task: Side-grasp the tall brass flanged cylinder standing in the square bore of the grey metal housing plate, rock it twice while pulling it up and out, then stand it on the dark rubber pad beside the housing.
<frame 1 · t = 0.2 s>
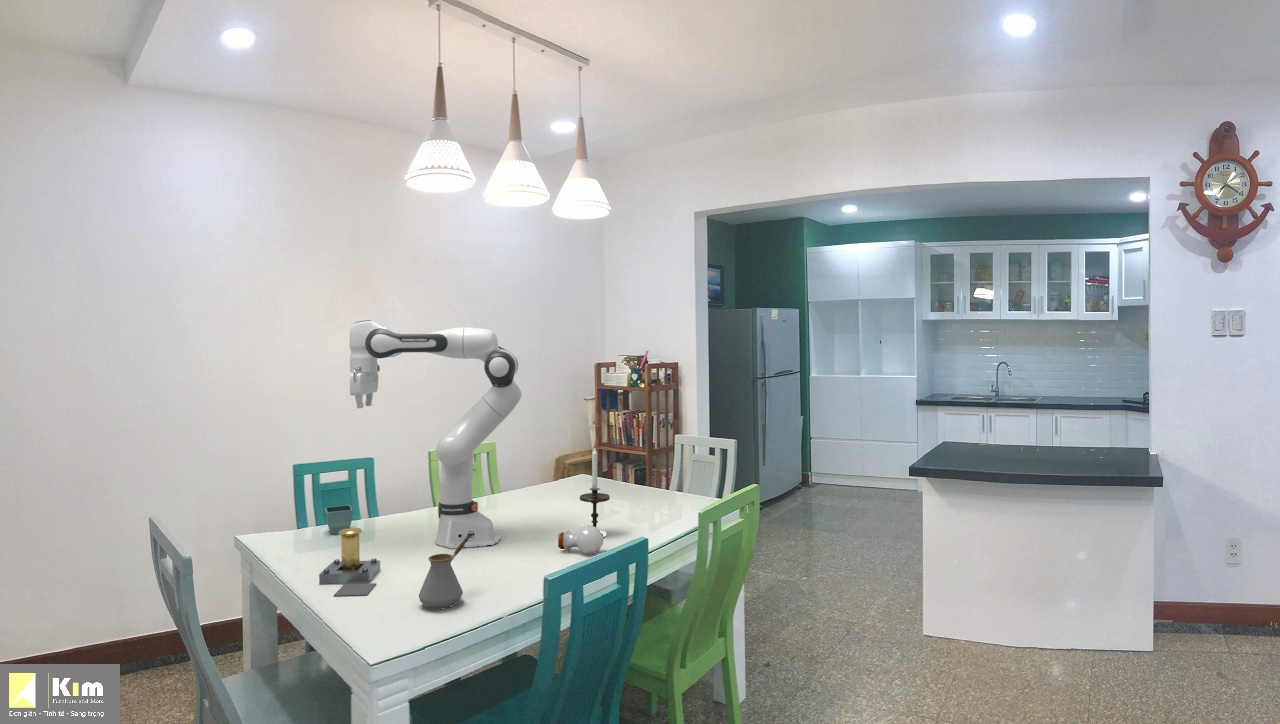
hand: (364, 407, 247), 48 cm above the table, tool pointing down, fingers open, 8 cm apart
pad: (355, 590, 202), on the table
flower pot: (338, 533, 263), on the table
candlestick: (594, 535, 260), on the table
potion bottle: (581, 553, 238), on the table
housing: (350, 576, 214), on the table
brass flanged cylinder: (350, 576, 214), resting in housing
coffee pot: (450, 598, 196), on the table
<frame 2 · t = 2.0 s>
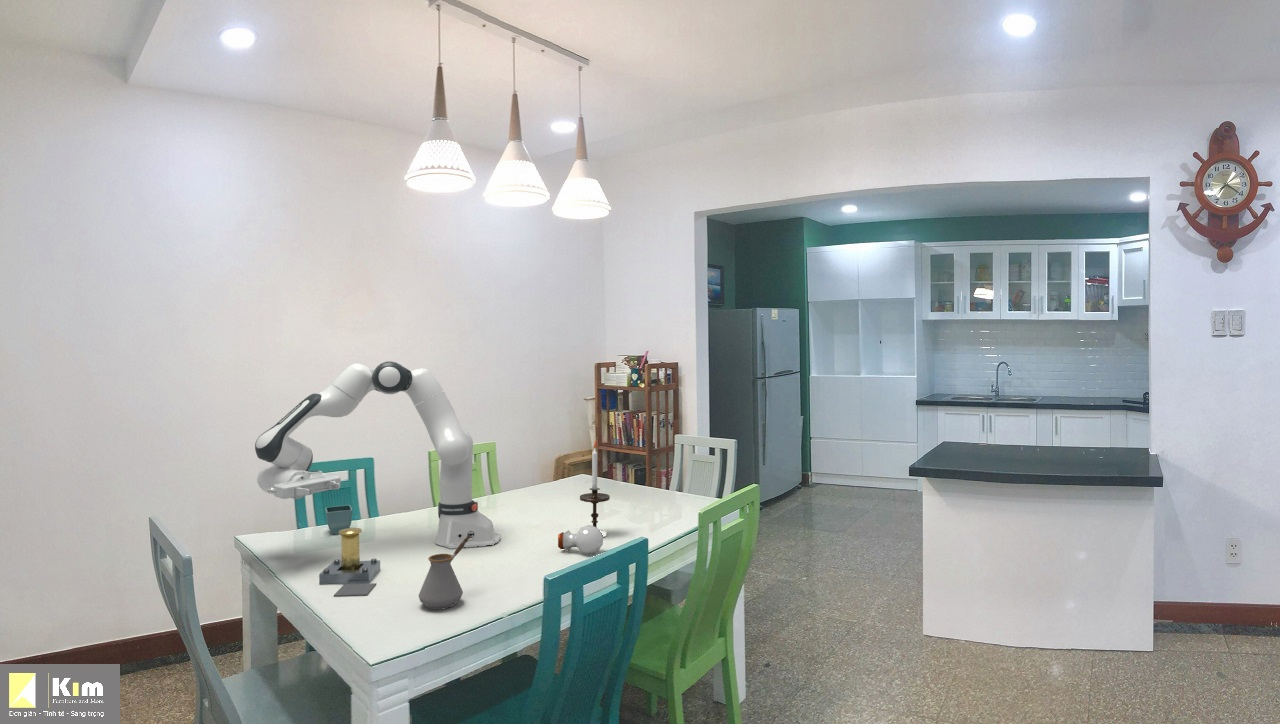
hand: (324, 489, 219), 25 cm above the table, tool horizontal, fingers open, 8 cm apart
nothing on the table moved.
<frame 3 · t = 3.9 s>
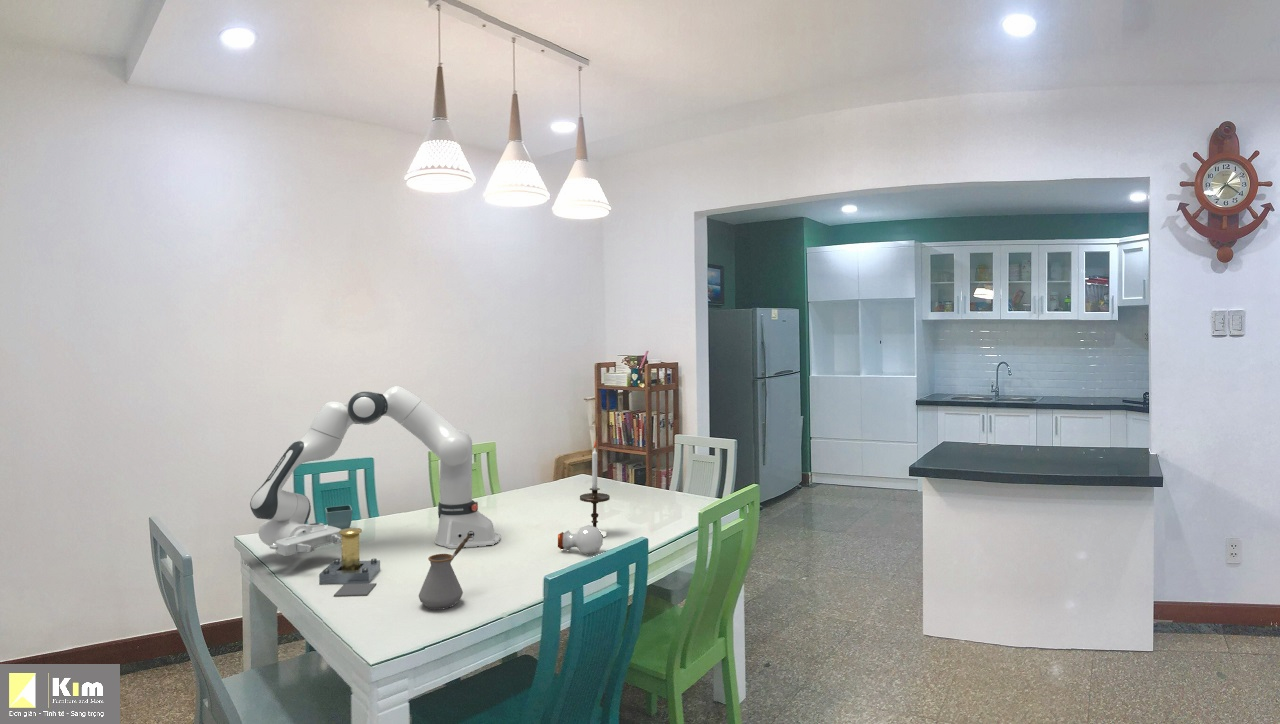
hand: (325, 544, 219), 8 cm above the table, tool horizontal, fingers open, 8 cm apart
nothing on the table moved.
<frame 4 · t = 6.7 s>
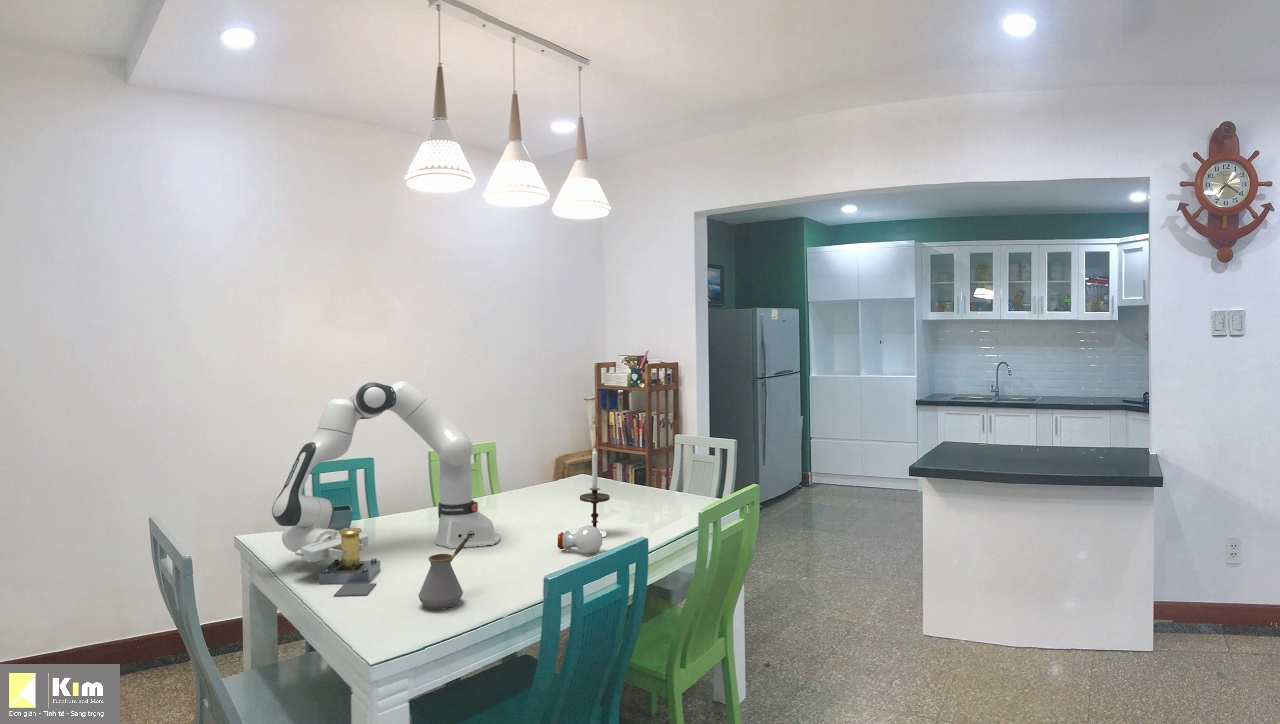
hand: (352, 550, 213), 8 cm above the table, tool horizontal, fingers closed on brass flanged cylinder, 5 cm apart
brass flanged cylinder: (350, 576, 214), resting in housing, touching gripper
everything else where it was.
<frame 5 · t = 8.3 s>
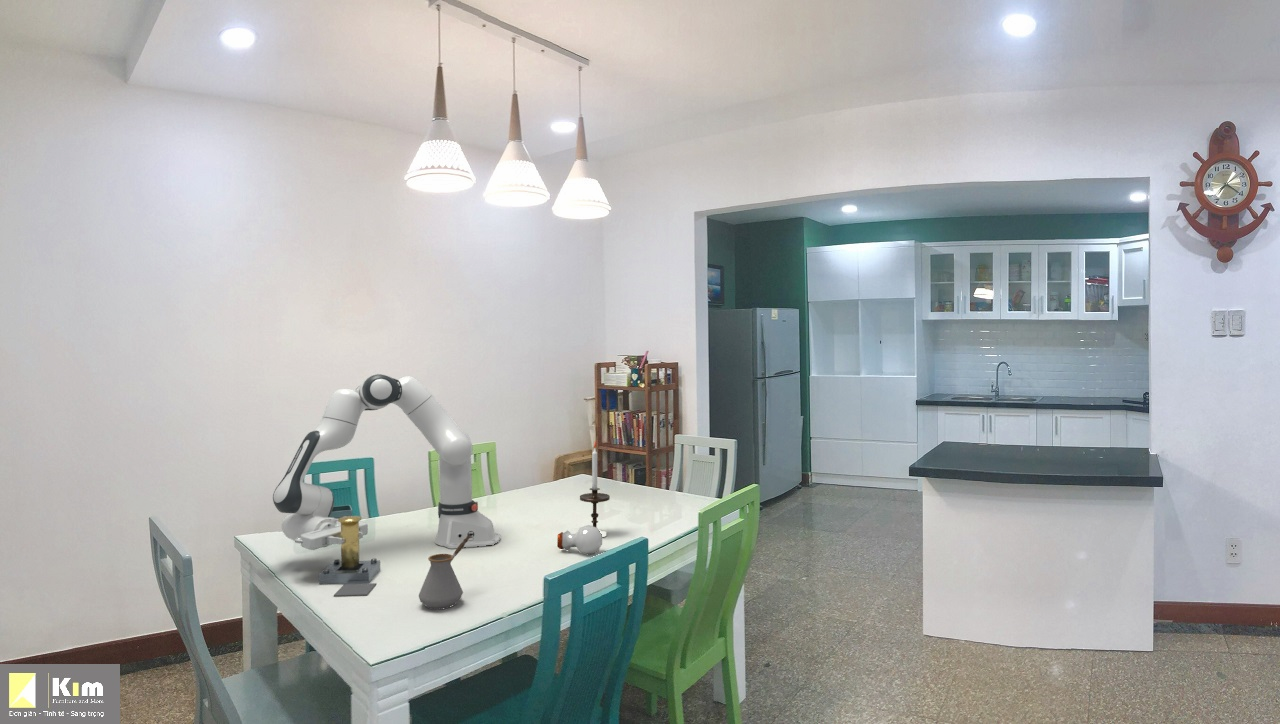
hand: (352, 538, 213), 12 cm above the table, tool horizontal, fingers closed on brass flanged cylinder, 5 cm apart
brass flanged cylinder: (350, 564, 214), point 4 cm above the table, touching gripper
everything else where it was.
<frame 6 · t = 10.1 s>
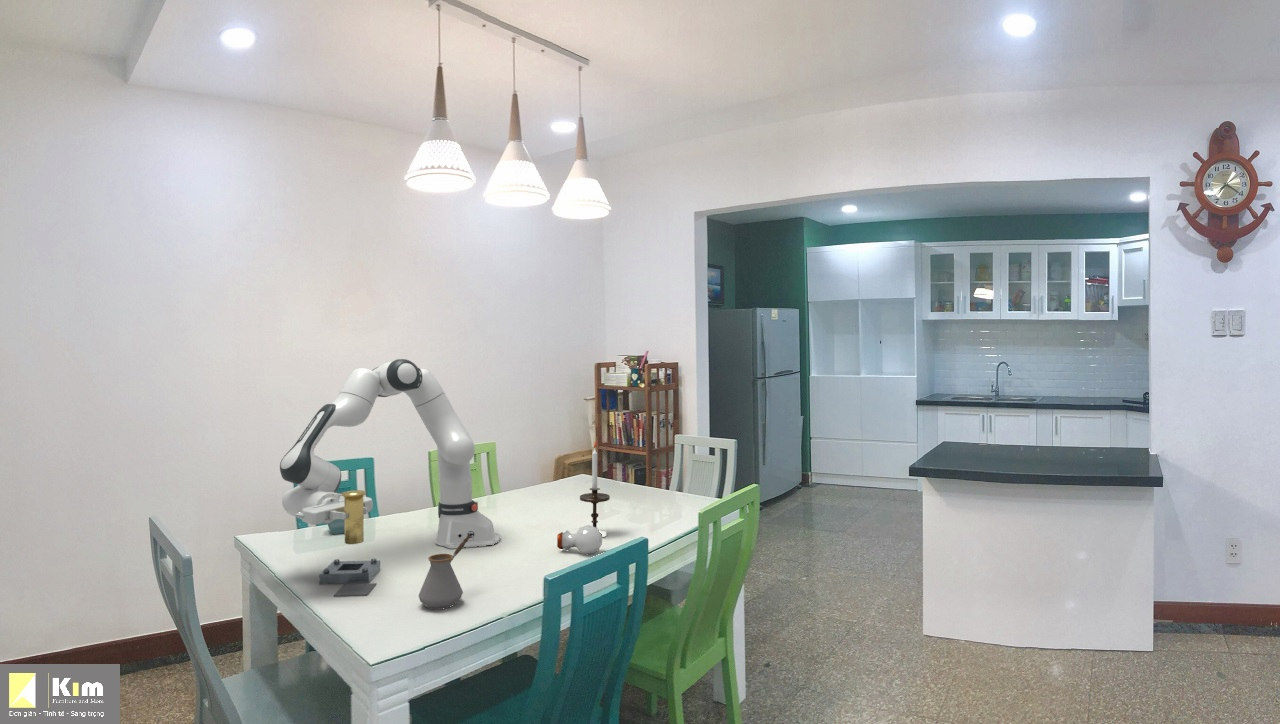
hand: (356, 513, 201), 22 cm above the table, tool horizontal, fingers closed on brass flanged cylinder, 5 cm apart
brass flanged cylinder: (354, 541, 202), point 14 cm above the table, touching gripper
everything else where it was.
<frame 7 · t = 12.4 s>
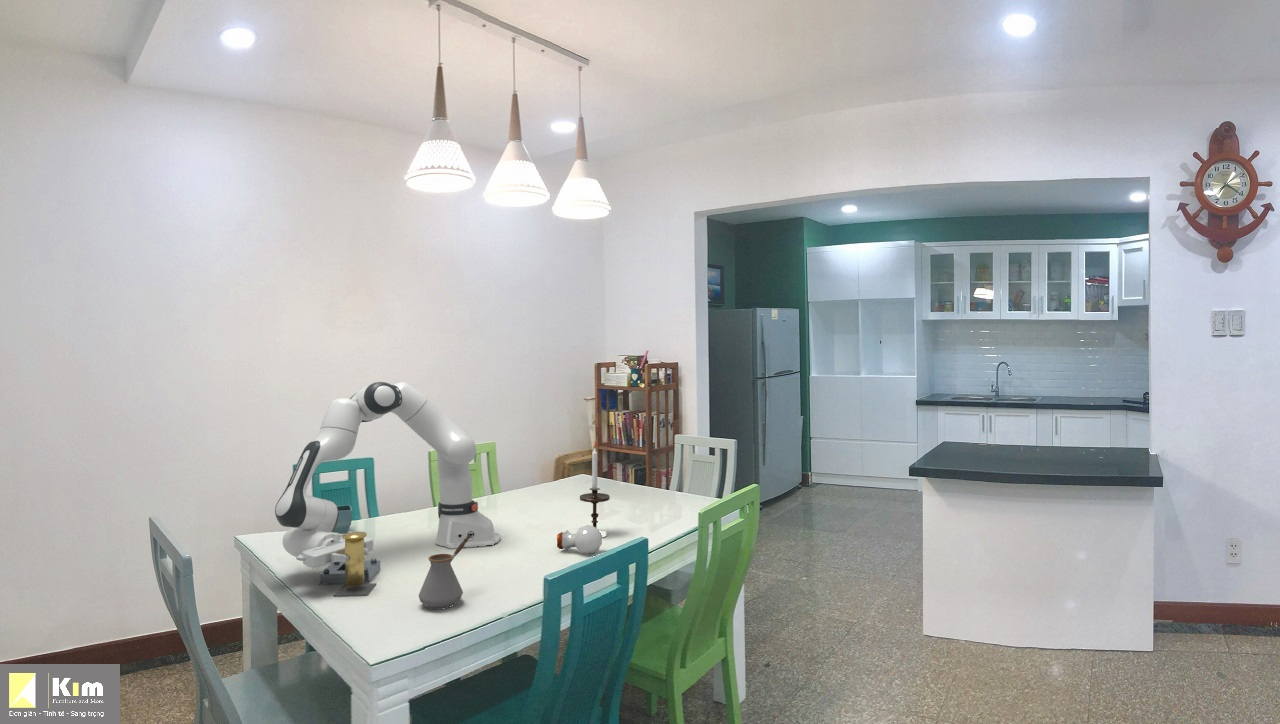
hand: (356, 555, 201), 10 cm above the table, tool horizontal, fingers closed on brass flanged cylinder, 5 cm apart
brass flanged cylinder: (354, 583, 202), point 2 cm above the table, touching gripper
everything else where it was.
when the fingers open (10 cm above the table, at t = 12.8 s): brass flanged cylinder drops 1 cm, resting on pad.
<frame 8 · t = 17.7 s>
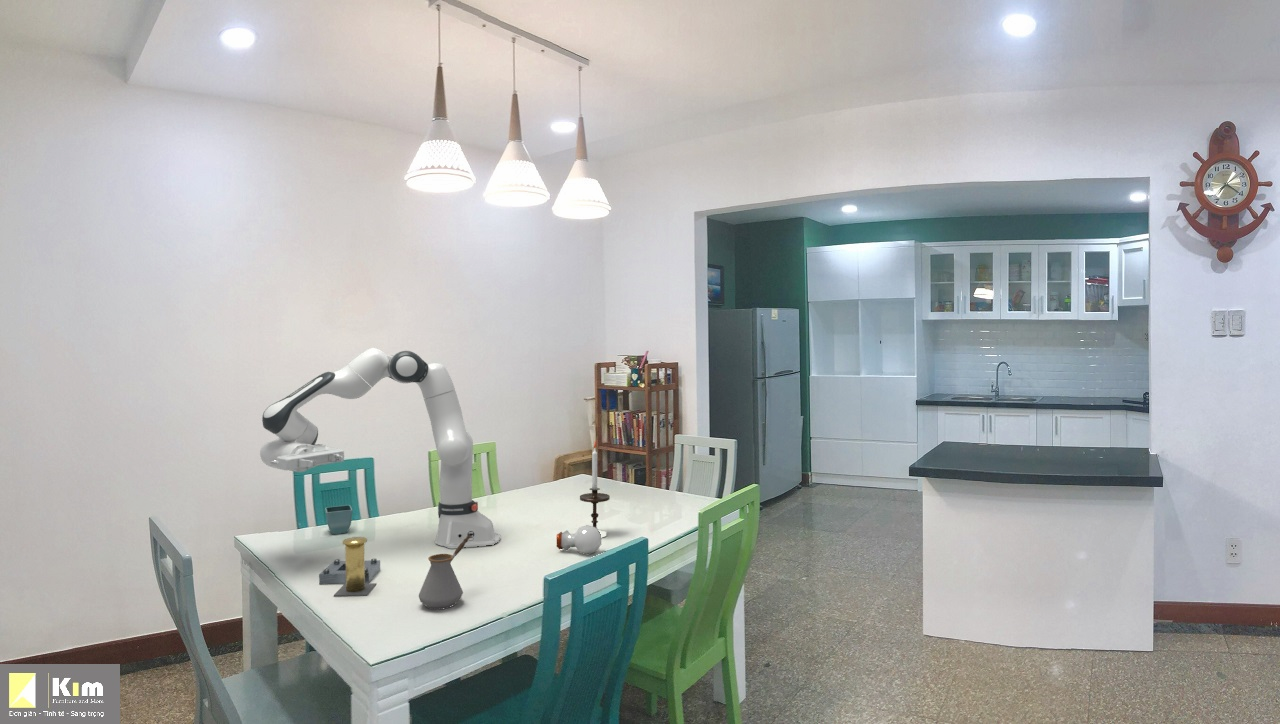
hand: (327, 461, 217), 34 cm above the table, tool horizontal, fingers open, 8 cm apart
brass flanged cylinder: (355, 588, 202), resting on pad
everything else where it was.
at the end: brass flanged cylinder inside the target area on the pad (0.1 cm from its centre), point 0.4 cm above the pad's base; brass flanged cylinder tilted 1°; the gripper is holding nothing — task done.
